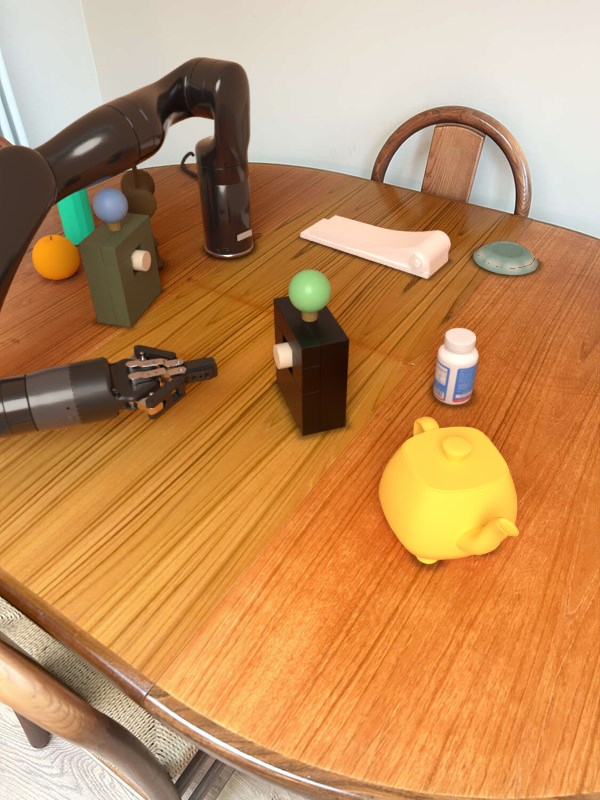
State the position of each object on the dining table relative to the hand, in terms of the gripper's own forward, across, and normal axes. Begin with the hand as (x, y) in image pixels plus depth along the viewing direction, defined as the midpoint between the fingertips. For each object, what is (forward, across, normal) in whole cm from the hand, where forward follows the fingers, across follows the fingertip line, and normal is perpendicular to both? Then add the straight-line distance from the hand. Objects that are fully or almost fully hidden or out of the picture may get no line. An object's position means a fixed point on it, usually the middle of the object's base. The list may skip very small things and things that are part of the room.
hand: (215, 366), depth 82 cm
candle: (-14, +63, +10) cm, 66 cm away
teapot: (+20, -27, +10) cm, 34 cm away
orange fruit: (-19, +49, +10) cm, 53 cm away
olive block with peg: (-8, +34, +9) cm, 36 cm away
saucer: (+60, +28, +7) cm, 67 cm away
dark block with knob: (+12, 0, +9) cm, 15 cm away
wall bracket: (+38, +40, +5) cm, 56 cm away
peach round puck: (-5, +32, +2) cm, 33 cm away
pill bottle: (+32, -4, +10) cm, 34 cm away
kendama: (-3, +47, +10) cm, 48 cm away
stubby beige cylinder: (+9, 0, +2) cm, 9 cm away
